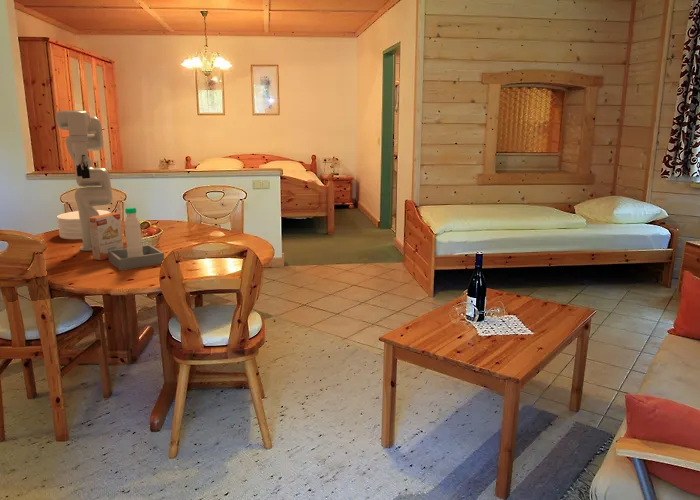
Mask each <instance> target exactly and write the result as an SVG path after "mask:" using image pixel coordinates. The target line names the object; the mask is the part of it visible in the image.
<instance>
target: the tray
mask: <svg viewBox="0 0 700 500" xmlns="http://www.w3.org/2000/svg"><path fill="white" fill-rule="evenodd" d="M142 247H143V256H137V257H130V258H128V252H127V247H125V248H124V247H123V249H117V250H111V251H108V256H109V258H108V261H109V263H111V264H112V265H113V266H115V267H116V268H117V269H118V270H119V271H125V270H132V269H136V268H137V269H138V268H144V267H149V266H157V265H161V263H162V261H163V260H164V261H165V254H164V252H163V251H161V250H160V249H158V248H156V247H155V246H153V245H151V244H146V245H142ZM162 264H163V263H162Z"/></svg>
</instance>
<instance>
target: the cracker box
mask: <svg viewBox="0 0 700 500" xmlns="http://www.w3.org/2000/svg"><path fill="white" fill-rule="evenodd" d="M89 226H90V235H91V244H92V251H91V252H92V259H93V260H97V261H103V260H107V259H108V260H109V256H108V251H111V250H117V249H124V244H123V234H122V233H123V232H122V222H121V213H119V212H118V213H117V212H110V213H108V214H104V215H98V216H93V217H89Z"/></svg>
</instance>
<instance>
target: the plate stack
mask: <svg viewBox="0 0 700 500" xmlns="http://www.w3.org/2000/svg"><path fill="white" fill-rule="evenodd" d="M96 210H97V212H98V213H99V215H104V214H108V213H111V211H108V210H106V209H105V210H104V209H96ZM56 219H57V224H58V225H57V227H58V233H59V238H61V239H66V240H82V234H81V226H80V218H79V212H78V210H76V211H75V210H74V211H70V212H69V211H68V212H64V213H61V214H58V215H57V216H56Z"/></svg>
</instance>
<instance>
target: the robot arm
mask: <svg viewBox="0 0 700 500" xmlns="http://www.w3.org/2000/svg"><path fill="white" fill-rule="evenodd" d="M55 122H56V125H57V126H58V128H59V129H60V130H62V131H63V130H64V131H68V136H67V137H66V138H65V144H66V149H67V151H68V154H69V156H70V158H71V160H72V161H73V162H72V163H73V166H74V172H75V173H74V175H75V181H76V183H77V186H79V187H80V188H78V189H76V190H75V192H74V199H75V203H76V207H77V211H78V212H79V218H80V226H81V234H82V239H81V240H82V245H81V246H79V250H81V251H83V252H84V251H85V252H92V244H91V235H90V226H89V217H93V216H98V215H99V213H98V212H97V210H98V209H95V208H94V207H98V206H99V207H101V206H108V205H111V204H112V203H113V199H114V198H113V191H112V186H111V185H112V184H111V178H110V173H109V171H108V169H106V168H103V167H95V168H94V166H93V161H92V159H91V158H90V157H89V152H93V151H94V152H95V151H96V152H97V151H101V150H103V148H104V139H103V129H102V124H101V121H100V119H99V118H98V117H97V116H90V114H89V113H88V111H86V110H58V111H57V112H56V113H55Z"/></svg>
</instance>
